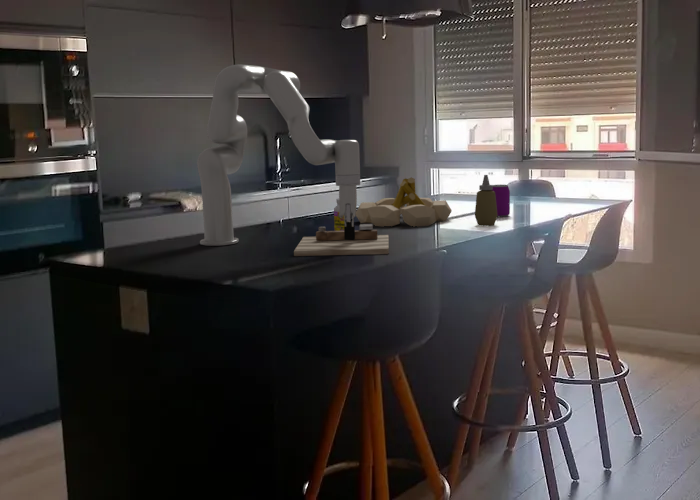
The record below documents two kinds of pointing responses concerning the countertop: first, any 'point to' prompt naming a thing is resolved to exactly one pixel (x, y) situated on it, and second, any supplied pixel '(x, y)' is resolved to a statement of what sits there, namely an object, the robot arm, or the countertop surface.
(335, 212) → the supplement bottle
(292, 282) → the countertop surface
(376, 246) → the hinge board
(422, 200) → the campfire
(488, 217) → the squeeze bottle
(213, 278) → the countertop surface
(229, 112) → the robot arm
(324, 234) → the link
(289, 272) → the countertop surface
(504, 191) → the beverage can
